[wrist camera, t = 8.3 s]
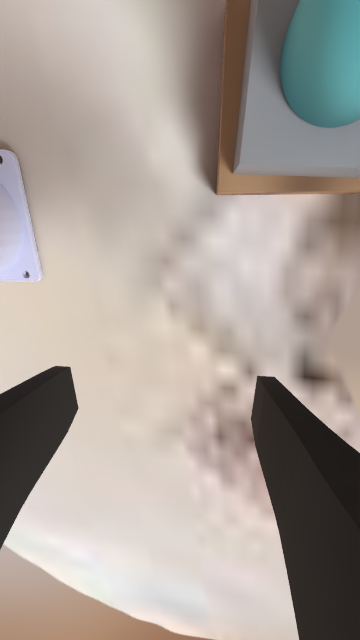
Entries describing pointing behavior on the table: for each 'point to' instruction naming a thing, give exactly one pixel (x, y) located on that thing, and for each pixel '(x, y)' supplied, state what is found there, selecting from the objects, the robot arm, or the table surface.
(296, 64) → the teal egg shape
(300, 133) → the tower top
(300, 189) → the tower bottom
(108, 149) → the table surface
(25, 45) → the table surface
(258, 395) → the robot arm
